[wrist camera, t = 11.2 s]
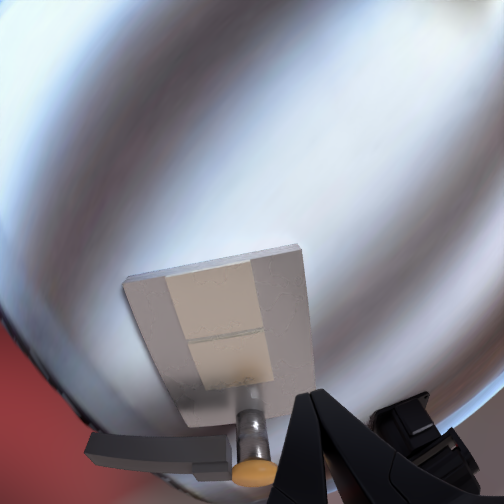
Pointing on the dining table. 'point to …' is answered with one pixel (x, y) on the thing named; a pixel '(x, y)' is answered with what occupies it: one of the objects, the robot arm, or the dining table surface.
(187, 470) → the bar
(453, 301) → the dining table surface
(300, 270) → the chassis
